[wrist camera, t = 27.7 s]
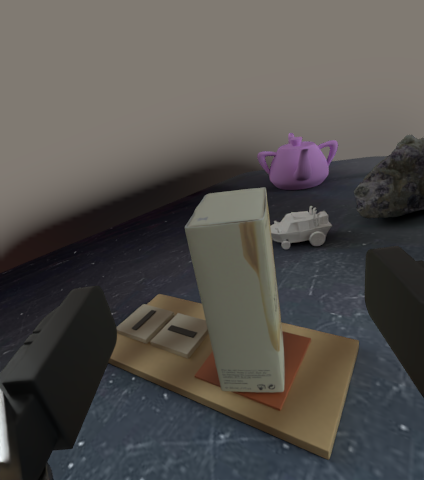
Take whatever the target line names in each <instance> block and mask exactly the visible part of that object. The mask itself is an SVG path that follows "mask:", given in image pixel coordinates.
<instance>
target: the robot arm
mask: <svg viewBox="0 0 424 480" xmlns="http://www.w3.org/2000/svg"><path fill="white" fill-rule="evenodd" d="M365 303H366V307H367V310H368V313H369V315H370V317H371V318H372V320H373V321H374V323H375V324H376V326H377V327H378V329H379V331H380V332H381V334H382V335H383V337H384V338H385V340H386V341H387V343H388V344H389V346H390V347H391V349H392V350H393V352H394V353H395V355H396V356H397V358H398V360H399V361H400V363H401V364H402V366H403V367H404V369H405V370H406V372H407V373H408V375H409V376H410V378H411V379H412V381H413V382H414V384H415V386H416V387H417V389H418V390H419V392H420V393H421V395H422V396H423V398H424V261H422V260H421V261H415V260H414V259H413V258H412V257H411V256H409V255H408V254H407V253H406V252H405V251H404V250H403V249H402V248H400V247H399V246H393V247H385V248H378V249H370V250H368V252H367V254H366V269H365ZM116 341H117V328H116V325H115V322H114V319H113V316H112V314H111V311H110V308H109V306H108V303H107V300H106V298H105V295H104V293H103V291H102V289H101V288H100V287H99V286H92V287H85V288H77V289H73V290H72V291H71V292H70V293H69V294H68V296H67V297H66V298H65V300H64V301H63V302H62V304H61V305H60V306H59V307H57V308H56V309H55V310H53V311H52V312H51V313H50V314H48V315H47V316H46V317H45V318H43V319H42V321H41V322H40V323H39V324H38V326H37V327H36V328H35V329H34V331H33V334H31V335H30V336H29V337H28V338H27V340H26V341H25V342H24V345H22V346H21V347H20V349H19V350H18V351H17V352H16V354H15V355H14V356H13V358H12V359H11V360H10V361H9V363H8V364H7V365H6V366H5V368H4V369H3V370H2V372H1V373H0V480H54V479H53V475H52V470H51V467H50V465H49V464H48V462H47V461H48V459H49V457H50V455H51V453H52V450H63V449H72V448H73V446H74V443H75V441H76V439H77V436H78V434H79V431H80V429H81V427H82V424H83V422H84V420H85V417H86V415H87V412H88V410H89V408H90V405H91V403H92V400H93V398H94V396H95V393H96V391H97V388H98V386H99V384H100V381H101V379H102V376H103V374H104V372H105V369H106V367H107V365H108V362H109V360H110V357H111V355H112V353H113V350H114V348H115V345H116Z"/></svg>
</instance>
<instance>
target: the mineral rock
mask: <svg viewBox="0 0 424 480" xmlns="http://www.w3.org/2000/svg"><path fill="white" fill-rule="evenodd" d="M354 194H355V197H356V202H357V207H356V208H357V211H358V212H359V213H360V215H361V216H363V217H365V218H388V217H396V216H402V215H404V214H407V213H412V212H415V211H418V210H423V209H424V138H421V139H417V138H415V137H414V136H413V135H407V136H406V137H405V138H404V139H403V140H402V141H401V142H399V143H398V144H397V146H396V149H395V150H394V151H393V152H392V154H391V155H389V156H387V157H386V158H385V159H384V160H383V161H381V162H380V163H379V164H377V165H376V166H375V167H374V168H373V170H372V172H370V173H369V174H368V175H367V176H366V177H365V178H364V180H363V182H362V183H360V184H359V186H358V187H357V188H356V189H355V191H354Z"/></svg>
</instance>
